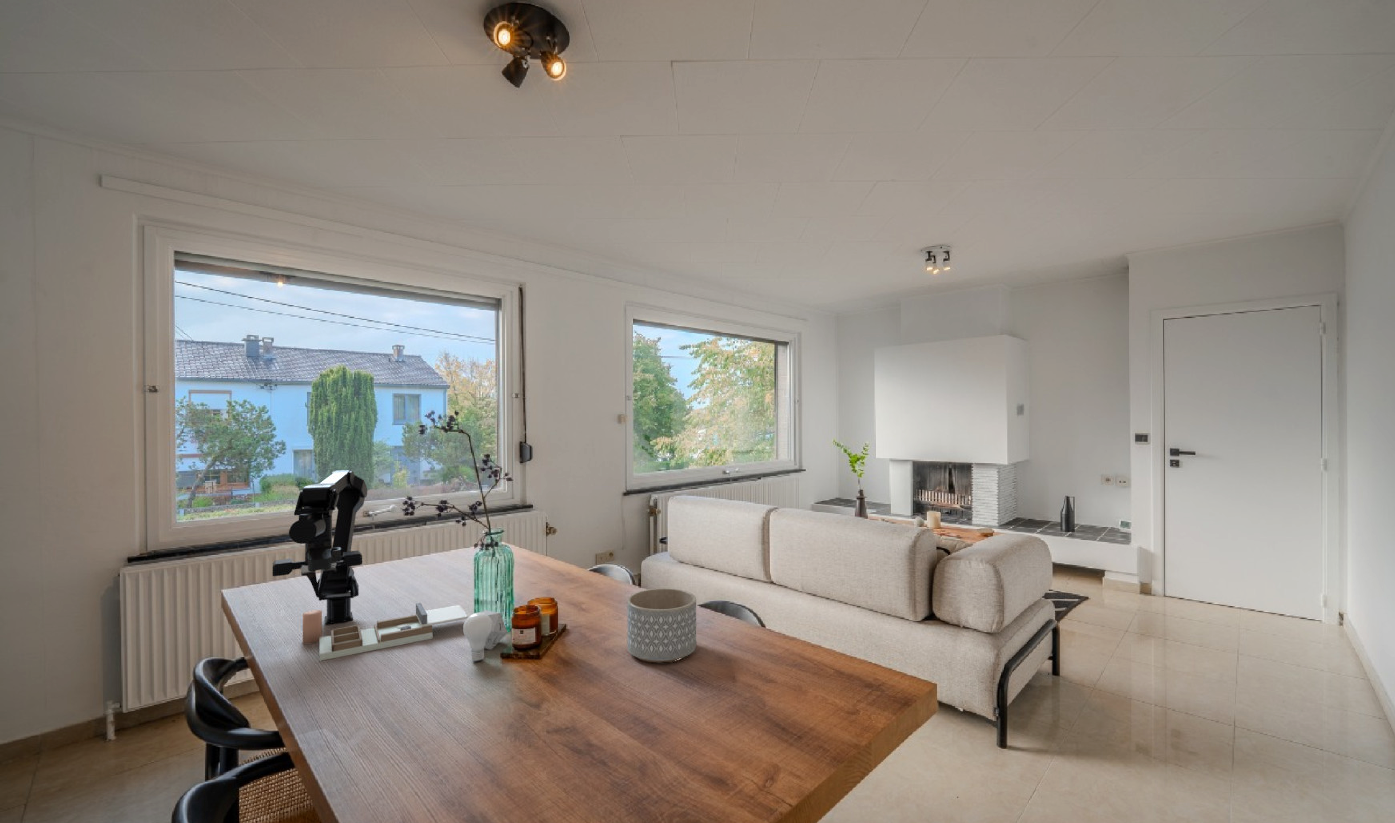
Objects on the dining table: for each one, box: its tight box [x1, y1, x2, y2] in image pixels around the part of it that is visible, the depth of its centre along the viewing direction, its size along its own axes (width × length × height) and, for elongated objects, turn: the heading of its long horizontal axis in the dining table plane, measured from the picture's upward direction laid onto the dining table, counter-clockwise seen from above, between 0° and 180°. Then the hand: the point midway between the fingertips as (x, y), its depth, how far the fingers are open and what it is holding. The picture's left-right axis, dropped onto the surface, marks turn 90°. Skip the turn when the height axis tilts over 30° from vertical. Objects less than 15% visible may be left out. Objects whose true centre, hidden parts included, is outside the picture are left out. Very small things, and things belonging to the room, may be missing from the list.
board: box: [318, 614, 434, 662], centre depth 144 cm, size 12×24×3 cm, turn 123°
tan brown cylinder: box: [302, 609, 323, 645], centre depth 144 cm, size 4×4×7 cm
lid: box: [415, 602, 469, 627], centre depth 152 cm, size 11×11×3 cm
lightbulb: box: [462, 611, 493, 663], centre depth 132 cm, size 6×6×11 cm
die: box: [480, 609, 509, 651], centre depth 141 cm, size 8×9×10 cm
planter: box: [626, 588, 697, 663], centre depth 137 cm, size 16×16×13 cm
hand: (318, 596), depth 145 cm, fingers closed
